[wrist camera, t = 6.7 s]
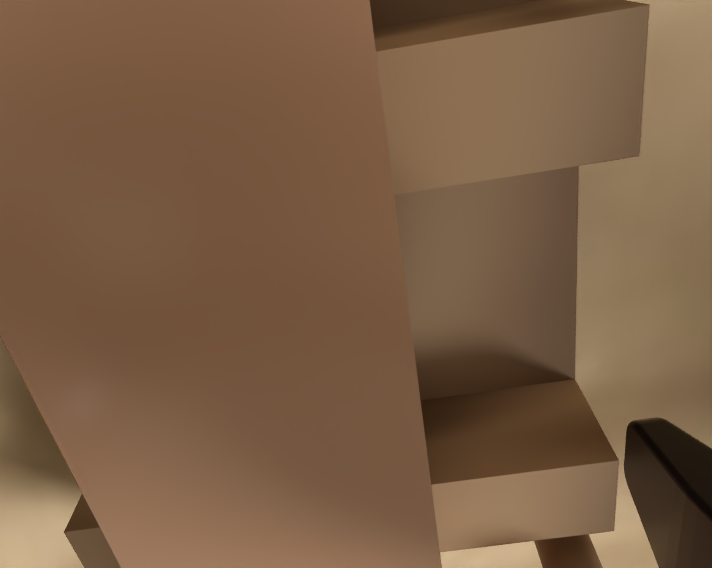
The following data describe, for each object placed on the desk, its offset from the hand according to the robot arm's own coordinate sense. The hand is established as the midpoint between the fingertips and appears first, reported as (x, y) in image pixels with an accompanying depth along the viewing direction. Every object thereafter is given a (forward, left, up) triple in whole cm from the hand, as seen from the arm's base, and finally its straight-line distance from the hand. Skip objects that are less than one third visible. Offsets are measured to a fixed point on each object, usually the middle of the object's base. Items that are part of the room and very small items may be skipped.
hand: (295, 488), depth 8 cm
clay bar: (0, 0, -2) cm, 2 cm away
